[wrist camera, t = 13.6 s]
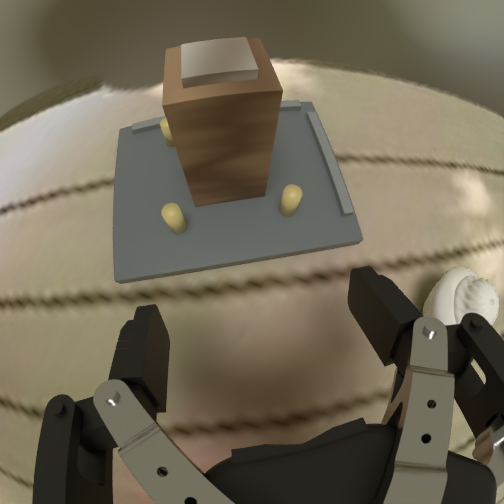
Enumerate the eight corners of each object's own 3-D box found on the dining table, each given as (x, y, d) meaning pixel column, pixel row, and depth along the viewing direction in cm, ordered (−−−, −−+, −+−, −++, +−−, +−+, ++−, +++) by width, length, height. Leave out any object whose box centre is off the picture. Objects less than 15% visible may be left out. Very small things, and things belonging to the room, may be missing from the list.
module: (195, 207, 19) (159, 95, 9) (190, 152, 21) (164, 40, 10) (264, 196, 20) (284, 80, 9) (252, 143, 21) (260, 29, 11)
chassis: (120, 283, 18) (98, 273, 15) (123, 135, 22) (110, 111, 19) (358, 243, 20) (378, 227, 17) (309, 108, 24) (316, 82, 20)
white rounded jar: (464, 332, 18) (520, 326, 11) (417, 361, 18) (477, 366, 11) (448, 268, 20) (502, 245, 13) (399, 289, 19) (457, 268, 12)
